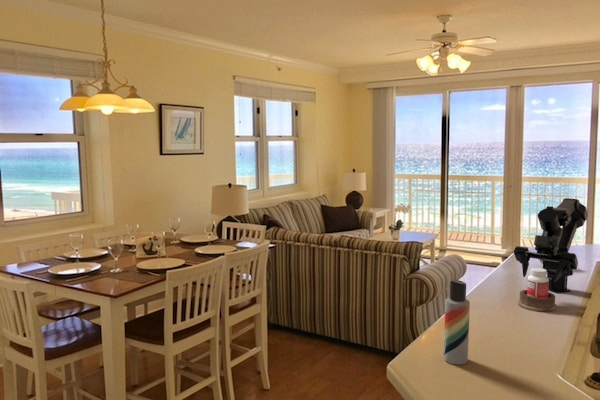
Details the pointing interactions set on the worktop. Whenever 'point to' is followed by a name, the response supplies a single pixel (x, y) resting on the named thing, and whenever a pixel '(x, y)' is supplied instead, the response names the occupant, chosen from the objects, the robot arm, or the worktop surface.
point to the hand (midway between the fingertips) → (538, 278)
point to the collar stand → (537, 302)
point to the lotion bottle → (456, 324)
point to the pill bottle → (538, 283)
